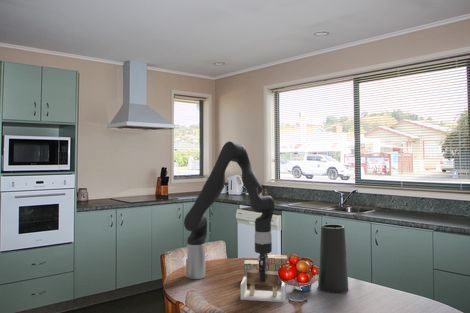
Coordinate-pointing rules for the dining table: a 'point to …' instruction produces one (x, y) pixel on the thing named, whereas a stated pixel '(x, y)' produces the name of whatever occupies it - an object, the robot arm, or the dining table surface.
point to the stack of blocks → (273, 263)
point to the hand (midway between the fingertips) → (263, 279)
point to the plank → (270, 278)
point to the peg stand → (262, 293)
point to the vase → (333, 259)
